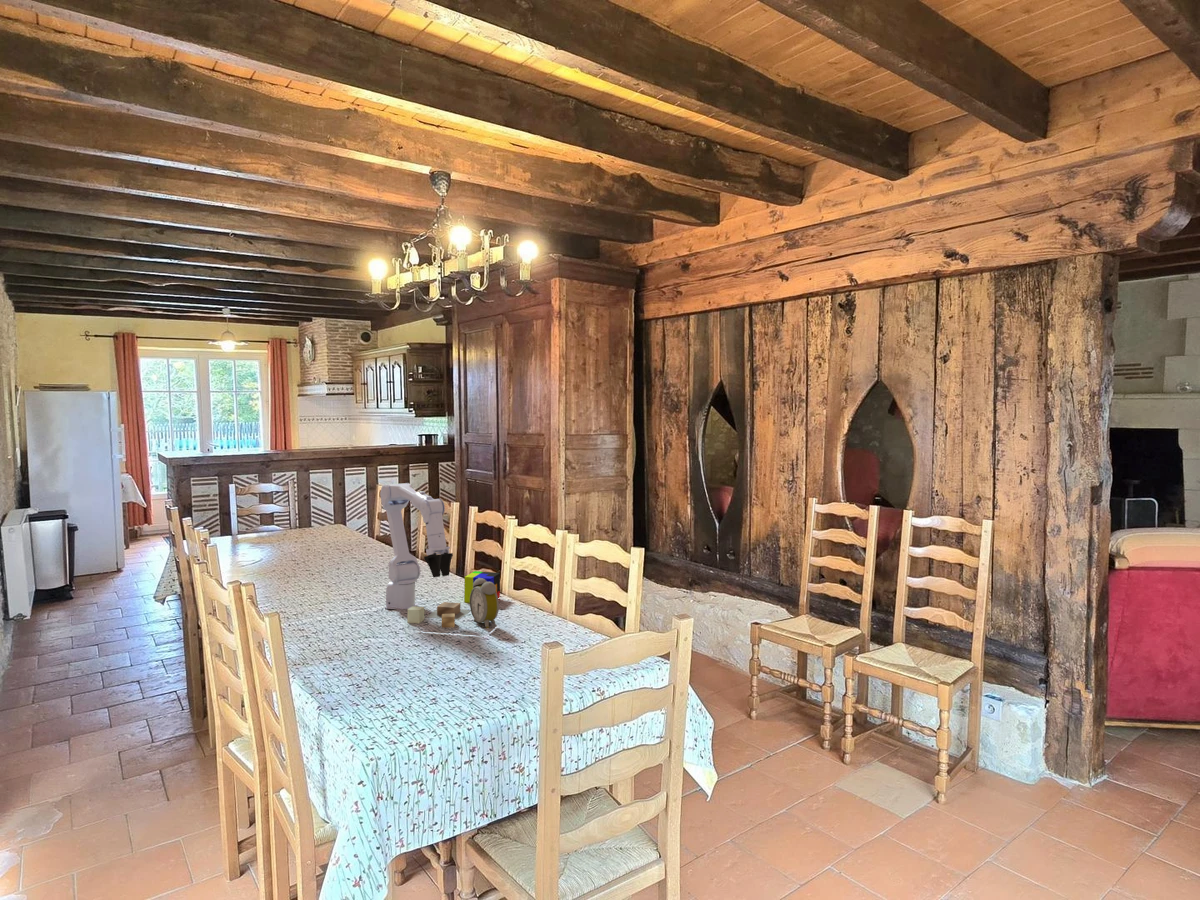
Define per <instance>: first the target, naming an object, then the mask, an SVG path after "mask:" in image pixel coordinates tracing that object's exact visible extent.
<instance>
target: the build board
mask: <svg viewBox="0 0 1200 900" xmlns="http://www.w3.org/2000/svg"><path fill="white" fill-rule="evenodd" d="M470 612H471V609H462V608H460V612H459V613H458V614H457V615H455V621H456V620H458V621H460V620H461V619H462V618H463V617H465V616H467V614H468V613H470ZM425 618H427V619H429V618H430V619H431V618H432V619H441V620H442V616H439V615H437V609H435V610H433V611H432V612H431V613H429V614H428V615H426V616H425Z"/></svg>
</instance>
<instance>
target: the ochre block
mask: <svg viewBox="0 0 1200 900" xmlns="http://www.w3.org/2000/svg"><path fill="white" fill-rule="evenodd" d="M455 622H456V620H455V614H442V619H441V628H442V629H443V628H455V624H456V623H455Z"/></svg>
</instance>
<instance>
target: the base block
mask: <svg viewBox="0 0 1200 900" xmlns="http://www.w3.org/2000/svg"><path fill="white" fill-rule="evenodd" d="M460 609H461V603H460V602H451V601H450V602H447V601H443V602H442V603H441V604H439V605H437V607H436V610H437V615H439V616H442V614H455V615H457V614H458V613H459V612H460Z"/></svg>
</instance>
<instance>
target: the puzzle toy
mask: <svg viewBox="0 0 1200 900" xmlns="http://www.w3.org/2000/svg"><path fill="white" fill-rule="evenodd" d="M478 578H483V579H485V580H486V581H487V582H492V583H493V584H494V585H495V586H496V593H497V596H498V598H499V597H500V598H501V572H491V571H478V570H475V571H472V572H471V573H469V574H467V575H465V576H464V588H463V589H464V590H463V591H464V595H463V597H464V599H463V600H464V601H463V603H466V604H467V603H469V604H470V595H471V591H472V589H473V583H474V581H475V580H476V579H478Z"/></svg>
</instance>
